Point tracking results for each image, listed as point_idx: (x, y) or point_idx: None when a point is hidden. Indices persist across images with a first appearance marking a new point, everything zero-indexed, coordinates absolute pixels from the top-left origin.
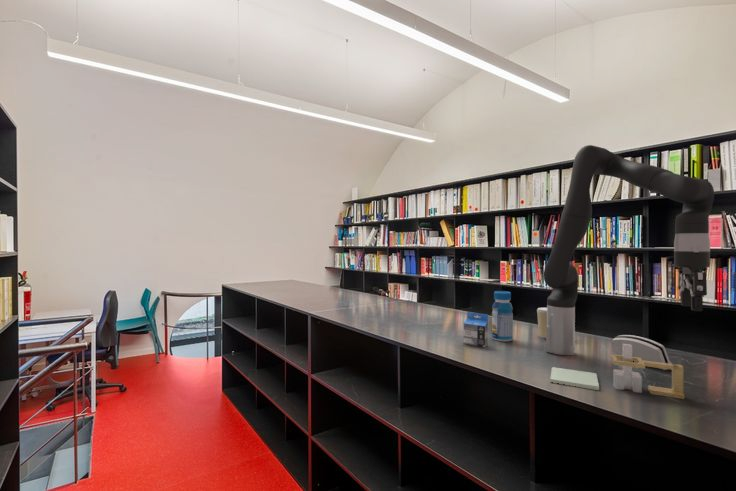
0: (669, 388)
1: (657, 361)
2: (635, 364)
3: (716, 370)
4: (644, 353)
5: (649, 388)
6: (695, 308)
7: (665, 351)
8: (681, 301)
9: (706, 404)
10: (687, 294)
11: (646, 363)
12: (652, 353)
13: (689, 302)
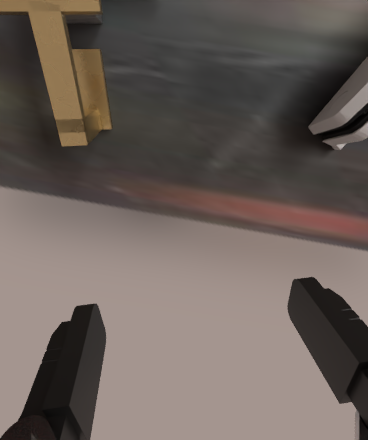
0: (108, 105)
1: (326, 112)
2: None
3: (335, 227)
4: (361, 77)
5: (74, 49)
6: (58, 328)
7: (350, 139)
8: (325, 295)
9: (71, 166)
10: (342, 377)
11: (33, 25)
12: (343, 100)
13: (302, 325)
